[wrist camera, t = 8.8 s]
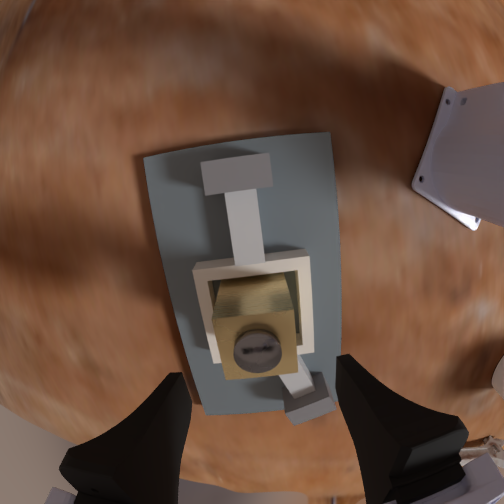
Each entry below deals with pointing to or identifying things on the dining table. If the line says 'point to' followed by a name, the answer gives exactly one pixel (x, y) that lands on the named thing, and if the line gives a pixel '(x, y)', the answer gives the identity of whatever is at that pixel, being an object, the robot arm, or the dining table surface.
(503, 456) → the wrench
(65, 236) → the dining table surface
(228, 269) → the base
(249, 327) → the block
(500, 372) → the mug
